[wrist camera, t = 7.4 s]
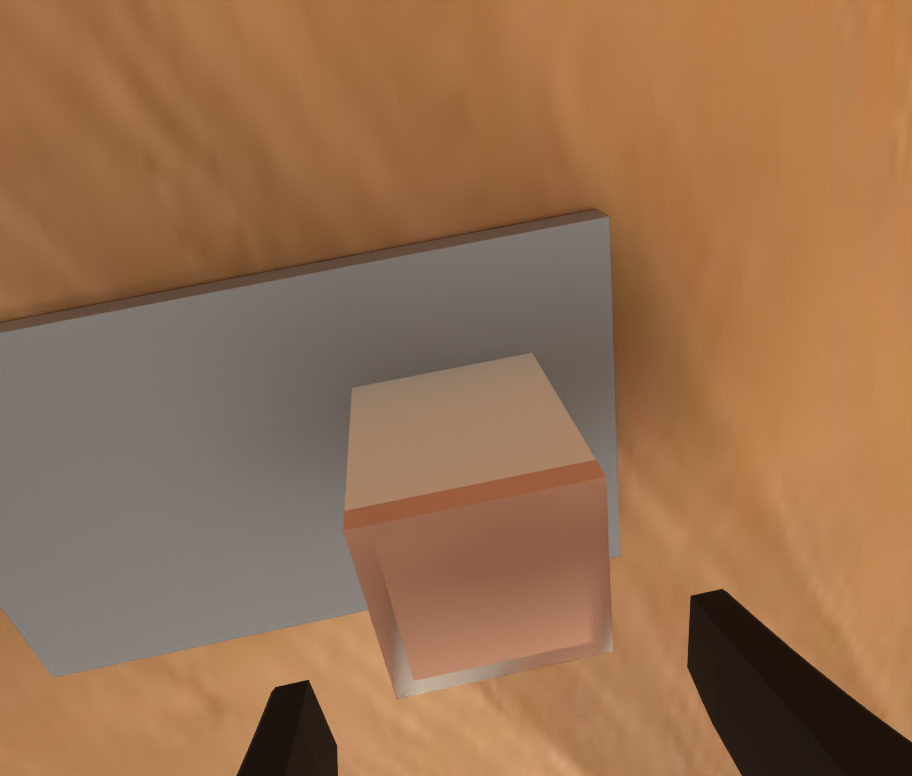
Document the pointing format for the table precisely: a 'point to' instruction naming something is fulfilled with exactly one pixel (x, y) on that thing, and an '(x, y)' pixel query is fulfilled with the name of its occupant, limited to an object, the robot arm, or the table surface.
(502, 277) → the board
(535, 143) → the table surface
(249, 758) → the robot arm
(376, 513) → the peach bevelled cube
